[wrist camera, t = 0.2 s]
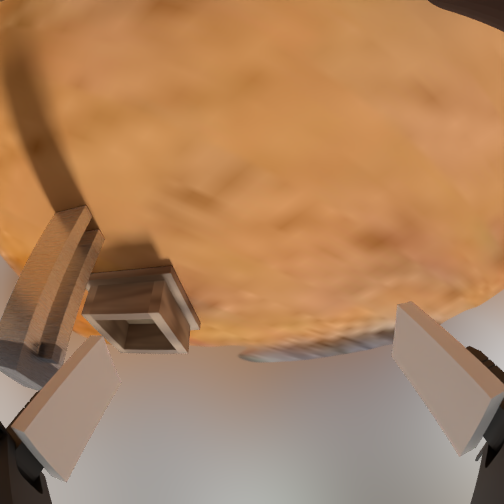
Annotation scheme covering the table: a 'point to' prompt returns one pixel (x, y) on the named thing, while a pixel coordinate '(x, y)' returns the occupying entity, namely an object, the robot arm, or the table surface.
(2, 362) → the steel tongs
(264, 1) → the table surface
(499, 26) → the coffee mug
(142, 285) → the box
